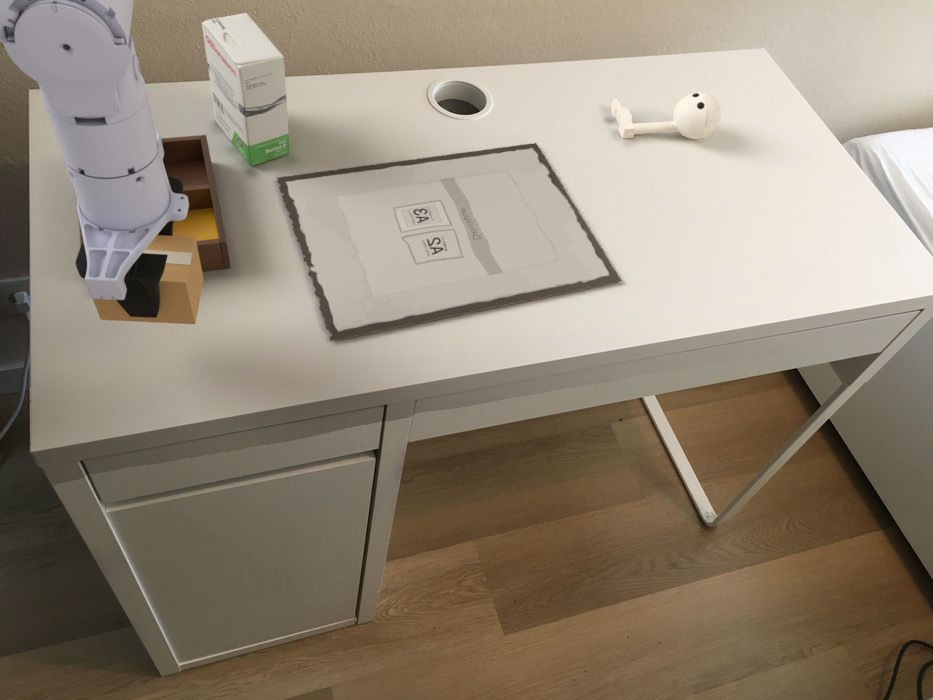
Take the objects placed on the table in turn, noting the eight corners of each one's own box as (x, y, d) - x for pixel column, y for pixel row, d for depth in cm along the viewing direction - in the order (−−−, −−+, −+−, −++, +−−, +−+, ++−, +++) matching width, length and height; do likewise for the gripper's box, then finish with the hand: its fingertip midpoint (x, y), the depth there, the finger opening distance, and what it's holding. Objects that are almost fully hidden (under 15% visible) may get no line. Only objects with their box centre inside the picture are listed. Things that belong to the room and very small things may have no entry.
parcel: (100, 320, 59) (83, 276, 54) (113, 275, 61) (98, 230, 57) (195, 324, 60) (186, 281, 56) (204, 280, 62) (195, 236, 58)
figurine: (734, 109, 88) (638, 115, 86) (718, 146, 93) (626, 154, 91) (708, 67, 93) (615, 73, 91) (694, 105, 97) (605, 111, 95)
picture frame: (330, 342, 67) (621, 282, 77) (330, 340, 67) (622, 280, 77) (275, 178, 79) (535, 143, 88) (275, 176, 78) (536, 141, 88)
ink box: (292, 154, 81) (287, 55, 72) (249, 168, 79) (238, 68, 70) (255, 108, 85) (246, 8, 76) (213, 120, 83) (198, 19, 73)
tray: (91, 286, 68) (80, 259, 65) (84, 173, 75) (74, 145, 73) (230, 268, 71) (226, 241, 68) (210, 162, 79) (206, 134, 76)
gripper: (155, 234, 45) (188, 366, 56) (194, 85, 53) (216, 225, 64) (26, 226, 44) (86, 362, 55) (87, 75, 52) (128, 219, 63)
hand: (150, 288), depth 59 cm, fingers closed on parcel, 4 cm apart
